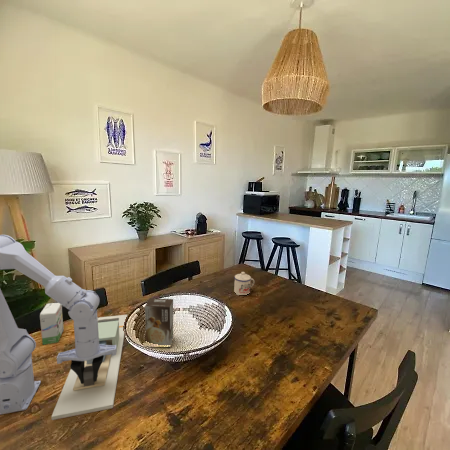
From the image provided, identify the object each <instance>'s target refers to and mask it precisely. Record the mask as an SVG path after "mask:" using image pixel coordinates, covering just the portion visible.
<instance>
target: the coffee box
mask: <svg viewBox="0 0 450 450" xmlns="http://www.w3.org/2000/svg"><path fill="white" fill-rule="evenodd" d="M144 318H145V319H144V323H145V326H144V328H145V342H146V341H147V342H149V343H153V344H158V345H171V343H172V344H173V342H172V339H173V336H174V298H155V297H152V298H151V297H150V298H149V299H148V300H147V302H146V303H145V305H144ZM173 340H174V339H173ZM171 346H172V345H171Z"/></svg>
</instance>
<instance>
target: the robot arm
mask: <svg viewBox="0 0 450 450" xmlns="http://www.w3.org/2000/svg"><path fill="white" fill-rule="evenodd" d="M0 270H16V271H18V272H19V273H20V274H22V275H24V276H26V277H28V278H29V279H31V280H32V281H35V282H36V283H37V284H39V285H41V286H43V287H44V292H45V295H47V296H48V297H49V298H51V299H53V300H54V301H55V302H56V303H60V304H61V305H62V307H64V308H66V309H67V310H68V312H67V313H68V316H69V317H70V319H71V320H72V321H73V331H74V344H75V346H74V347H75V348H72V349H69V350H66V351H62V352H58V354H57V356H56V363H57V365H58V364H62V363H63V362H68V361H71V364H70V370H71V369H72V370H73V371H74V372H75V373H76V374H77V376H78V377H79V379H80V382H81V384H84V378H83V372H84V369H85V361H87V360H90V359H93V358H94V359H93V362H92V367H93V381H94V382H95V381H97V377H98V370H99V368H100V366H101V364H102V361H103V357H104V355H110V354H112V356H114V355H116V352H117V345H100V344H99V332H98V318H99V317H98V309H97V308H98V307H99V305H100V302H101V301H100V297H99V295H98V294H97V293H96V291H94V290H92V289H91V290H88V289H87V290H86V289H84V288H82V287H80V285H78V284H76V283H75V282H73V279H72V278H71V277H70V276H68V277H67V276H65V275H55V274H54V273H53V272H52V271H50V270H49V269H48V268H47V267H46V266H45V265H43V264H42V263H41V262H40V261H38V259H36V258H35V257H33V255H31V254H30V253H29V252H28V251H26V249H25V247H24V245H23V244H22V243H20V242H19V241H17V240H15V239H14V238H13V237H12V236H10V235H8V234H0ZM5 298H6V297H5V296H4V294H3V291H2V290H1V288H0V415H5V414H10V413H16V412H21V411H25V410H27V409H28V407H29V406H30V404H31V402H32V400H33V398H34V397H35V394H36V392H38V388H39V387H40V386H41V383H42V382H41V380H35V379H34V377H35V376H34V369H33V368H34V367H33V360H32V357H33V356H32V355H33V354H32V353H33V352H34V351H35V350H36V347H37V342H36V340H35V338H34V337H32V336H31V335H30V334H29V332H28V331H27V329H26V328H25V329H24V328H20V327H18V325H17V323H16V320H15V319H14V316H13V314H12V312H11V310H10V307H9V305H8V303H7V300H6V299H5Z"/></svg>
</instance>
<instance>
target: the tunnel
mask: <svg viewBox="0 0 450 450" xmlns="http://www.w3.org/2000/svg"><path fill="white" fill-rule="evenodd" d="M98 332H99V341H102V340H110V339H112V345H117V347H118V342H119V320H118V321H109V322H100V323H98ZM116 353H117V352H116Z"/></svg>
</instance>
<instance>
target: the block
mask: <svg viewBox="0 0 450 450" xmlns="http://www.w3.org/2000/svg"><path fill="white" fill-rule="evenodd" d="M99 344H100V345H106V341H100V342H99ZM105 357H106V355H104V357H103V361H102V362H104V361H105ZM93 359H94V358H93ZM93 359H90V360H87V364H92V362H93Z"/></svg>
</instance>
